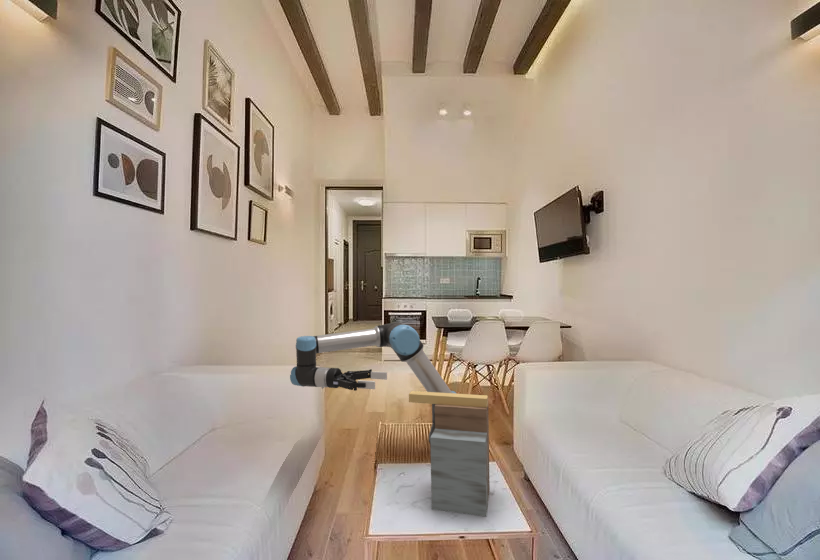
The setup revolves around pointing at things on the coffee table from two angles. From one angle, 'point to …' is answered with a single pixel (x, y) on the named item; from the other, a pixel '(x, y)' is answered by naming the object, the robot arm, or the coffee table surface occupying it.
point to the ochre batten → (448, 399)
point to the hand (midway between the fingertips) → (381, 380)
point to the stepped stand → (460, 459)
